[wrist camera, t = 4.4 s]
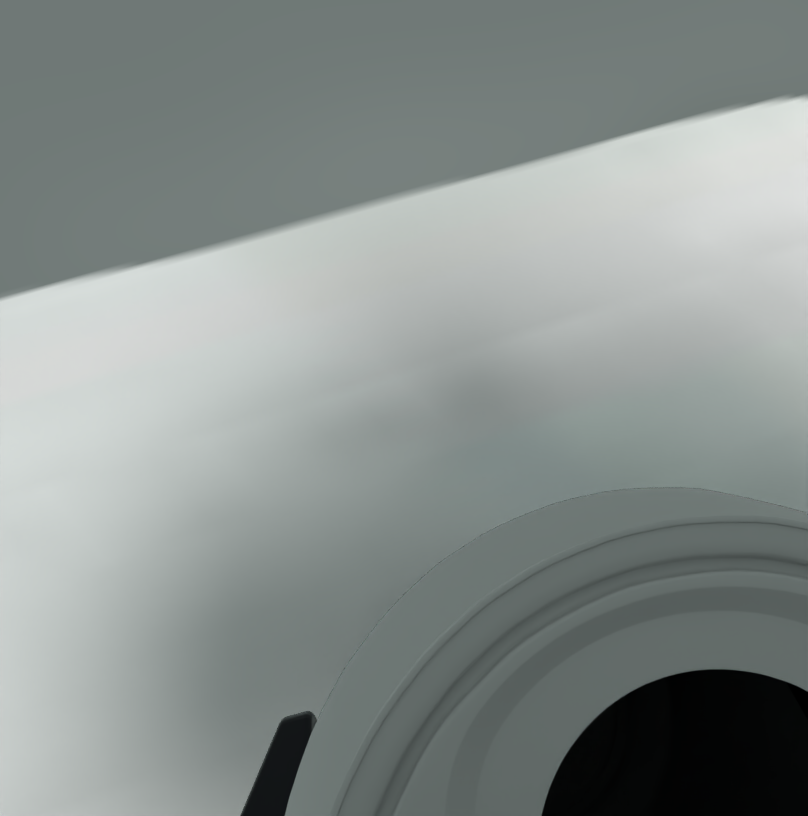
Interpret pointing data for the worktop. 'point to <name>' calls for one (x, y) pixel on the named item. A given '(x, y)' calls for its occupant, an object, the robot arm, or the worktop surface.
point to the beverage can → (583, 671)
